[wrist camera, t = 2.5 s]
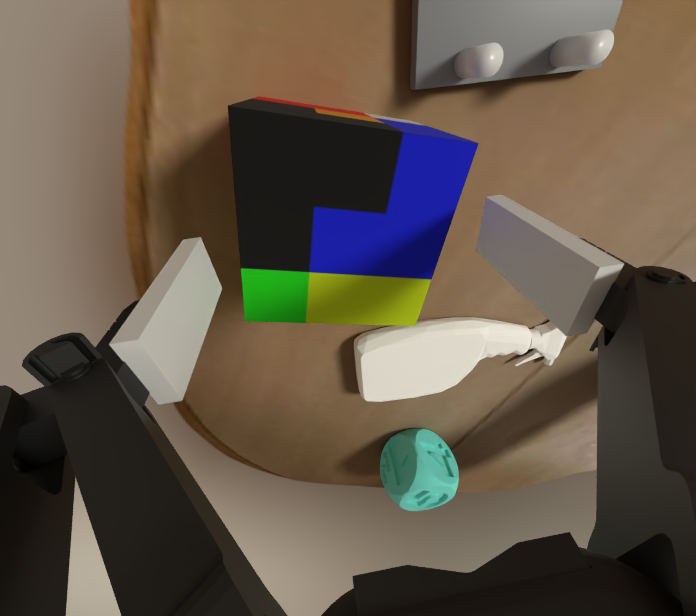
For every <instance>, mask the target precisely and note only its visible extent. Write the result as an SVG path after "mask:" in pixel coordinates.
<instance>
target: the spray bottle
mask: <svg viewBox="0 0 696 616" xmlns="http://www.w3.org/2000/svg"><path fill="white" fill-rule="evenodd" d="M566 338H567V336H565V335H564V334H563V333H562V332H561V331H560V330H559V329H558V328H557V327H556V326H555V325H554V324H553V323H552V322H551V321H549V322H547V323H546V324H543V325H539V326H535V327H534V328H533V329H528V328H527V326H524V325H518V324H513V323H508V322H502V321H497V320H490V319H482V318H474V317H452V318H440V319H428V320H419V321H417V322H416V325H415V326H397V325H394V326H389V327H384V328H379V329H375V330H371V331H367V332H364V333H362V334H360V335H359V336H357V337H356V338H355V339H354V354H355V366H356V375H357V381H358V387H359V391H360V394H361V396H362V398H364V399H365V400H366V401H379V402H382V401H389V400H397V399H405V398H413V397H419V396H424V395H429V394H434V393H439V392H442V391H444V390H446V389H448V388H450V387H452V386H454V385H456V384H457V383H458V382H460V381H461V380H462V379H463V378H464V377H465V376H466V375H467V374H468V373H469V372H470V371H471V370H472V369H473V368H474V367H475V365H476V364H477V363H478V361H479V360H481V359H483V358H485V357H494V356H496V355H497V354H499V355H507V354H510V353H512V352H513V353H516V354H519V355H522V354H524V353H526V352H527V351H528V349H533V348H534V350H533V351H532V352H530V353H528V354H527V355H525V356H524V357H522V358H521V359H519V360H517V361H516V362H514V365H515V366H518V365H520V364H522V363H524V362H527V361H530V360H533V359H536V358H538V357H542V356H545V357H544V361H543V363H544V364H545V365H548V366H549V365H552V363H553V361H554V359H555V358H556V357H558V355H559V353H560V351H561V348H562V346H563V344H564V342H565V340H566Z"/></svg>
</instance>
